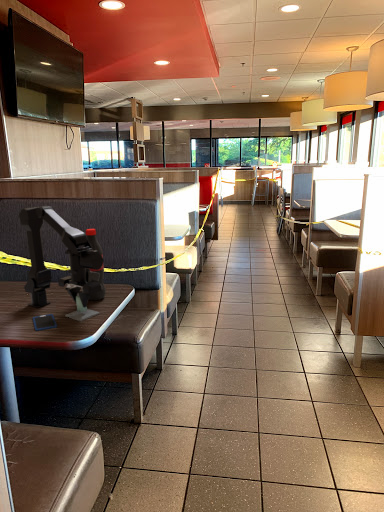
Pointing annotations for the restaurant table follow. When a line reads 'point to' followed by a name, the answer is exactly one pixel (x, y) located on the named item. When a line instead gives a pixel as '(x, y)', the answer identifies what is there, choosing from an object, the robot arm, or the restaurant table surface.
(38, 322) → the cell phone
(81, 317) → the coaster
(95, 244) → the cola bottle
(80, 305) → the small green bottle
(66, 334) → the restaurant table surface
